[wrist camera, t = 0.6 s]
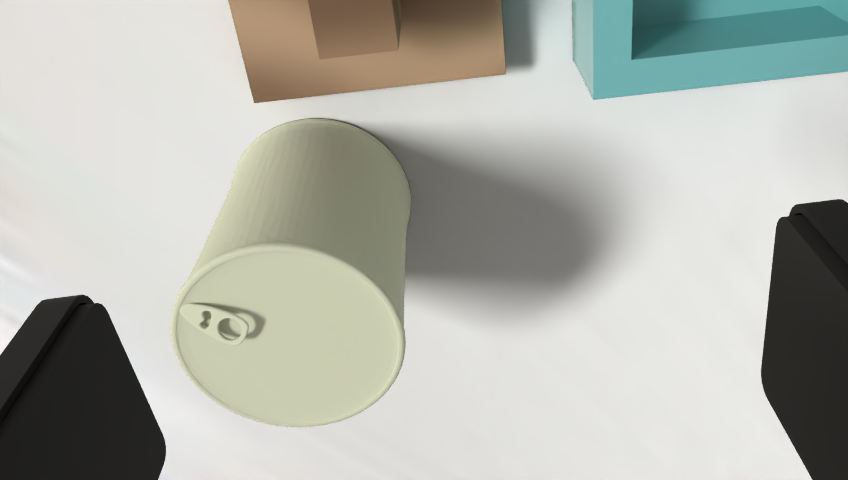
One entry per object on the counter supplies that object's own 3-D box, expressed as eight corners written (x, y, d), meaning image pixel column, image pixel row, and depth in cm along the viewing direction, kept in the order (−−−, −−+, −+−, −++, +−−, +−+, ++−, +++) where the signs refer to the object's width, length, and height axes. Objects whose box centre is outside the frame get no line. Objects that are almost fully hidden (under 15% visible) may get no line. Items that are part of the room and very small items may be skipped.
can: (262, 88, 36) (198, 216, 26) (439, 158, 38) (445, 302, 28) (211, 239, 41) (140, 398, 30) (372, 295, 43) (356, 462, 32)
